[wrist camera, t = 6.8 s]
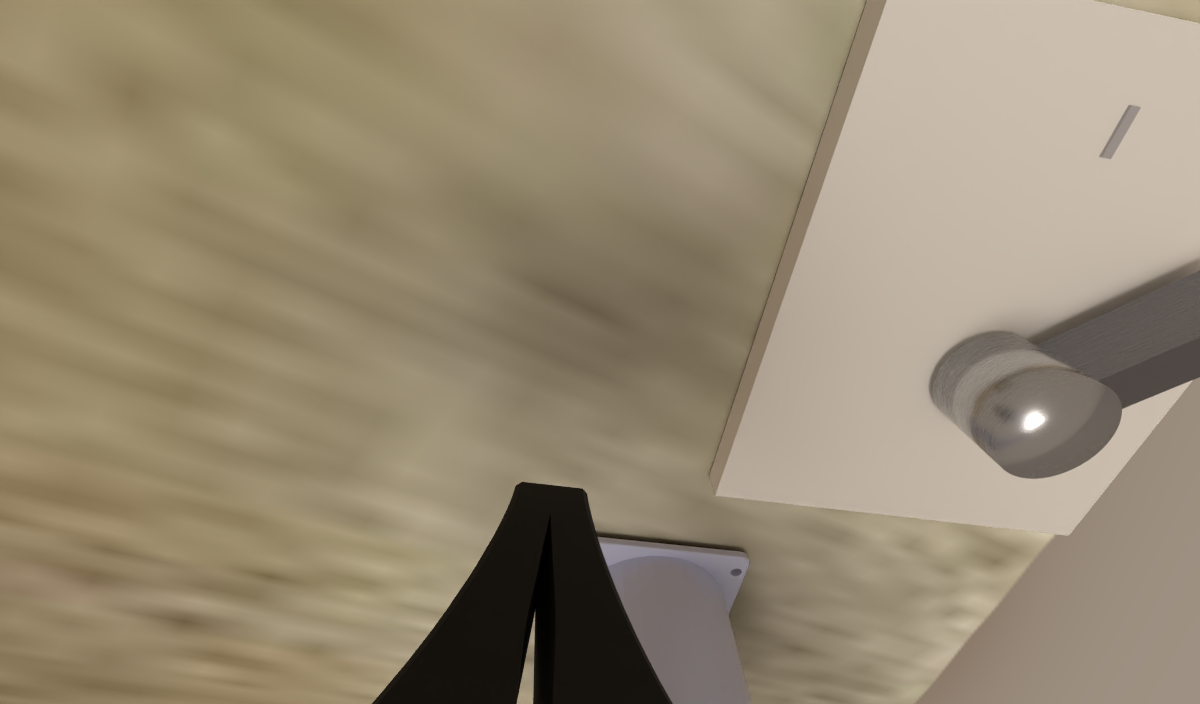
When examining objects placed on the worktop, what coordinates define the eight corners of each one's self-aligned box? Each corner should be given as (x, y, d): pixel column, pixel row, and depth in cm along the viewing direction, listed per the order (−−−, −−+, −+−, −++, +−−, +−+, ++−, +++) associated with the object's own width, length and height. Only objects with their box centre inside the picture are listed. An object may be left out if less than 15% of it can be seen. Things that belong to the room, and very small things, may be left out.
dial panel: (1047, 515, 23) (1070, 537, 22) (709, 476, 22) (715, 497, 21) (1378, 74, 15) (1442, 74, 14) (877, -32, 14) (903, -42, 13)
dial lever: (946, 435, 19) (1007, 495, 17) (920, 365, 18) (982, 416, 15) (1207, 322, 17) (1327, 369, 15) (1201, 233, 16) (1332, 265, 13)
